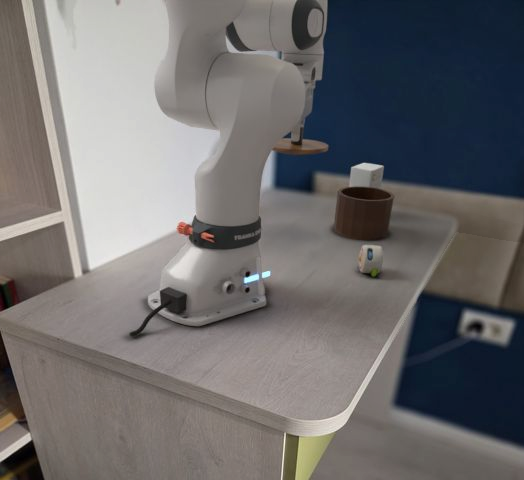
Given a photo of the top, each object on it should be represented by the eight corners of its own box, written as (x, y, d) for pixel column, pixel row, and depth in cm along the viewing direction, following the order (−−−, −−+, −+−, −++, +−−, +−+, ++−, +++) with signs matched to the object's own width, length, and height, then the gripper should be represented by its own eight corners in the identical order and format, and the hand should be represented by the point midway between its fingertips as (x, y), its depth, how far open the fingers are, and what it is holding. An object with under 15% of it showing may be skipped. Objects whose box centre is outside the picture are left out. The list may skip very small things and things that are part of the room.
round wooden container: (369, 244, 120) (375, 204, 115) (323, 230, 127) (327, 192, 122) (397, 231, 129) (404, 194, 123) (352, 219, 136) (357, 183, 131)
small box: (357, 208, 145) (363, 162, 138) (377, 213, 142) (385, 165, 135) (344, 215, 139) (350, 166, 132) (365, 219, 136) (372, 170, 129)
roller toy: (359, 277, 102) (363, 250, 99) (355, 265, 108) (359, 240, 105) (380, 278, 102) (385, 251, 99) (375, 266, 108) (380, 241, 105)
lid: (301, 159, 105) (303, 134, 103) (251, 148, 113) (251, 125, 111) (340, 151, 115) (343, 128, 112) (291, 142, 123) (292, 120, 120)
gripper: (294, 67, 115) (290, 132, 122) (278, 70, 98) (274, 145, 105) (321, 68, 114) (315, 134, 121) (310, 72, 97) (304, 148, 104)
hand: (296, 139), depth 113 cm, fingers closed on lid, 2 cm apart
